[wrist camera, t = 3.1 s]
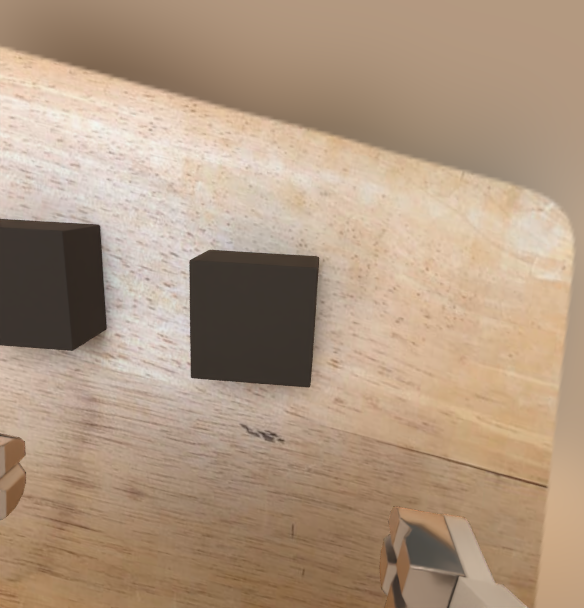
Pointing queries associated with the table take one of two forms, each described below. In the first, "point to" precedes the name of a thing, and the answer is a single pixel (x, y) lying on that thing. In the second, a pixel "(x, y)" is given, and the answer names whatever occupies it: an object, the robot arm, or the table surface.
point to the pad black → (253, 317)
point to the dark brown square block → (50, 284)
